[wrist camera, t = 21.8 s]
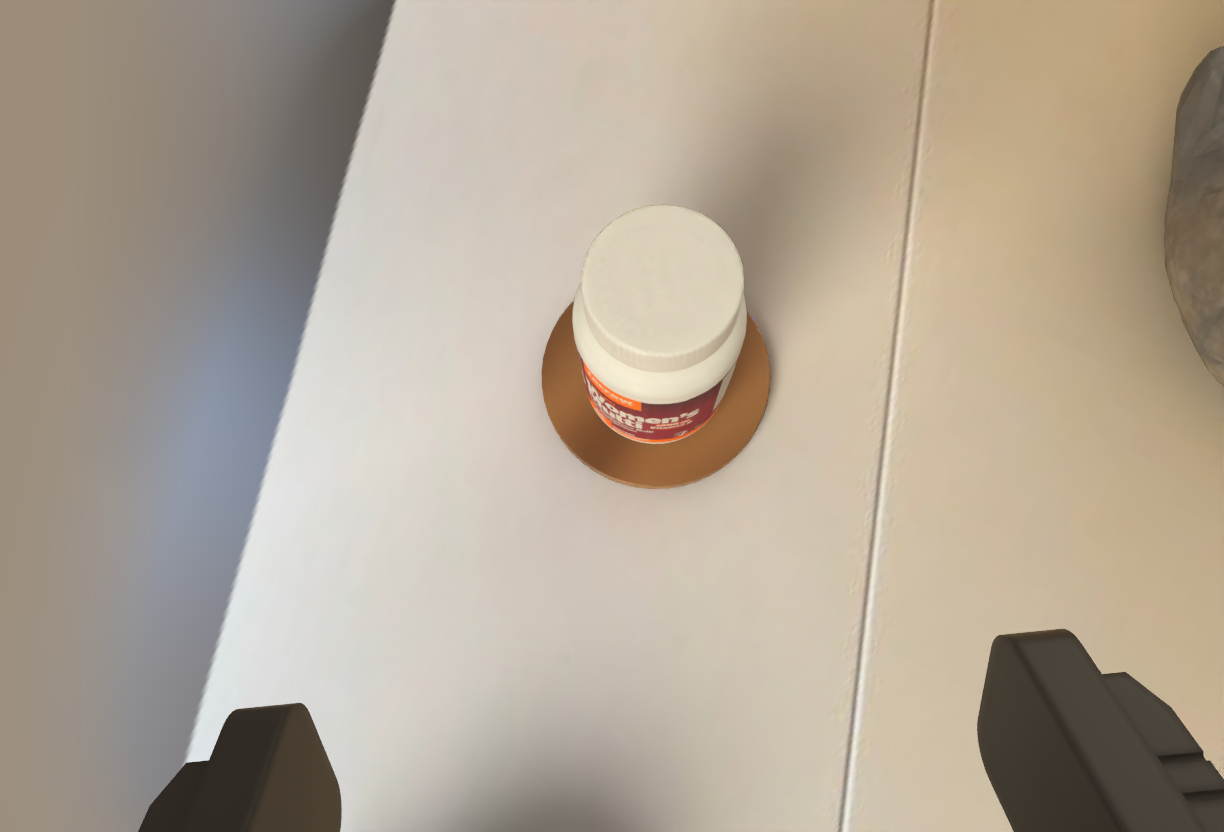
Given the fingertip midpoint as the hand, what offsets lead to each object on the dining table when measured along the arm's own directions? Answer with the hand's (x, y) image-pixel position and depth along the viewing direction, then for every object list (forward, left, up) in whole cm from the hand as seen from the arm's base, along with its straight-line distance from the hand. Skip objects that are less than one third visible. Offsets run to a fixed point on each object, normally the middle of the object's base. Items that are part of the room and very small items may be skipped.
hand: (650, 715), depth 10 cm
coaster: (-4, +11, -27) cm, 29 cm away
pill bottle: (-4, +11, -26) cm, 29 cm away
